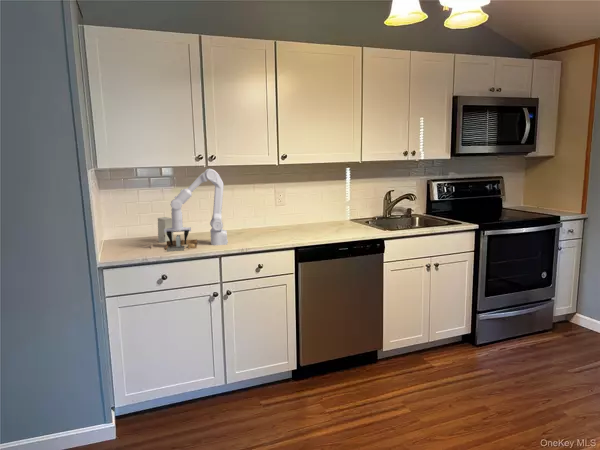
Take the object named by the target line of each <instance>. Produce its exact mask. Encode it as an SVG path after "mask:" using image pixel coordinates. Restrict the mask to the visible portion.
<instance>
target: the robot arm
mask: <svg viewBox="0 0 600 450" xmlns="http://www.w3.org/2000/svg"><path fill="white" fill-rule="evenodd" d="M208 181H210V182H211V183H212V185H214V194H213V195H214V196H213V210H212V217H211V220H210V222H209V225H210V227H211V229H210V245H211V246H225V245H228V243H229V242H228V233H227V231H228V230H227V229H223V228H224V223H223V222H222V221H223V216H222V213H223V211H222V209H223V197H224V182H223V180H222V177H221V176H220V174H219V173H218V172H217V171H216V170H215V169H212V168H207V169H206V170H204V172H202V173H201V174H199V175H198V176H197V177H196V179H195V180H194V181H193V182H192V183H191V184H190V185H189V186H188V187H187V188H183V189H181V190H180V192H179V193H178V194H177V195H176V196H174V199H172V200H171V201H170V208H171V210H170V211H171V218H172V228H167V229H164V233H166V232H167V236H168V237H169V240H170V242H171V246H174V245H173V242H172V232H173V233H175V232H176V233H181V232H183V234H184V235H183V236H184V240H185V241H184V244H186V240H188V236H189V233H190V232H192V227H187V226H185V227H183V226H184V225H183V212H182V206H183V205H184V204H186V202H187V201H189V199H191V198H192V195H193V192H194V191H195V190H197V188H198V187H199V186H200V185H201V184H202V183H205V182H206V183H207V182H208Z"/></svg>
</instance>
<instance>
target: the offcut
mask: <svg viewBox="0 0 600 450" xmlns="http://www.w3.org/2000/svg"><path fill="white" fill-rule="evenodd" d="M194 246H195V245H194V244H188V245H187V248H190V249H193V248H192V247H194ZM194 248H195V247H194Z"/></svg>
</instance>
